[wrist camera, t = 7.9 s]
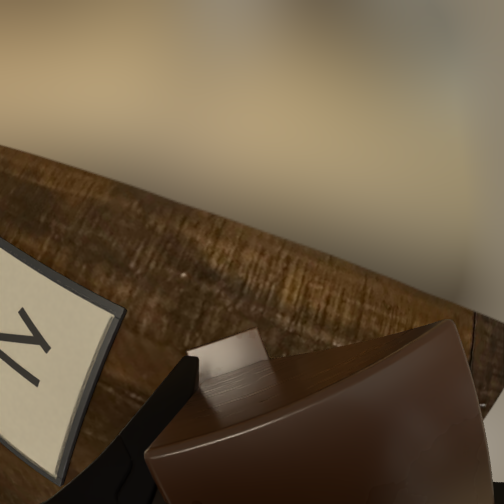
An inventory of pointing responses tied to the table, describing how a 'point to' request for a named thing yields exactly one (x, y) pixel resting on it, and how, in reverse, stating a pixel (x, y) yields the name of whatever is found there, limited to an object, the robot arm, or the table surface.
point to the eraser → (328, 425)
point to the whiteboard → (48, 359)
